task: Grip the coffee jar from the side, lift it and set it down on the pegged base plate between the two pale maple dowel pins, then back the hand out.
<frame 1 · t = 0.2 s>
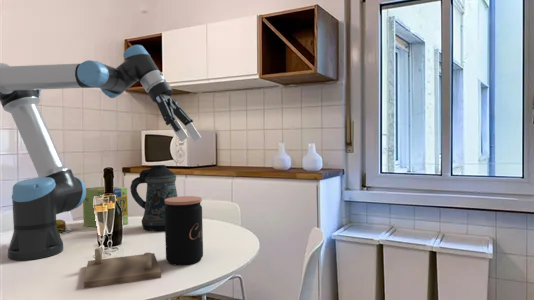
hand: (191, 139, 131), 35 cm above the table, tool tilted 35°, fingers open, 13 cm apart
protein box: (106, 225, 166), on the table
hamburger: (58, 234, 154), on the table
pegged base plate: (123, 271, 107), on the table
coffee jar: (184, 260, 116), on the table
beer stein: (159, 228, 159), on the table
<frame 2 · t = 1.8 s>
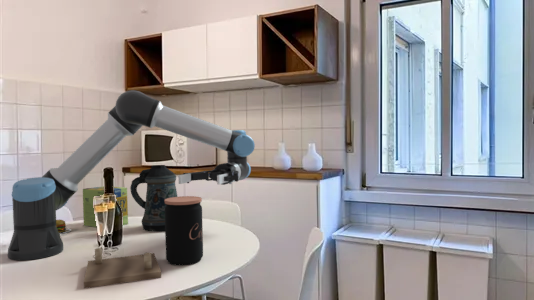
hand: (198, 179, 124), 22 cm above the table, tool horizontal, fingers open, 13 cm apart
nothing on the table moved.
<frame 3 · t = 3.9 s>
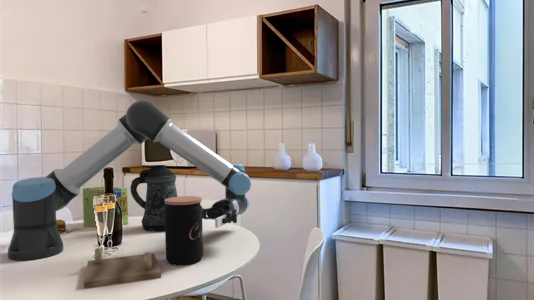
hand: (196, 222, 121), 10 cm above the table, tool horizontal, fingers open, 13 cm apart
nothing on the table moved.
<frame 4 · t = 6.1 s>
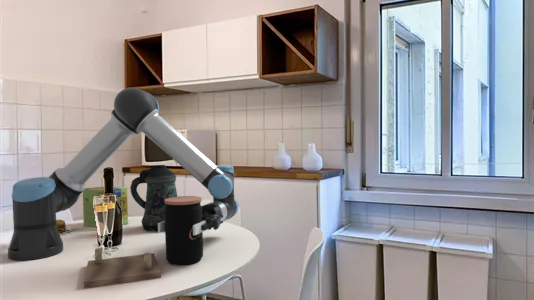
hand: (176, 229, 111), 10 cm above the table, tool horizontal, fingers closed on coffee jar, 11 cm apart
coffee jar: (184, 260, 116), on the table, touching gripper
everything else where it was.
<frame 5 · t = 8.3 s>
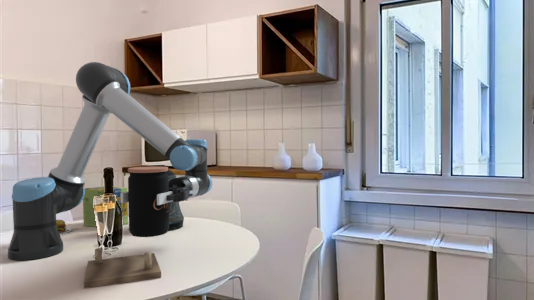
hand: (139, 199, 105), 20 cm above the table, tool horizontal, fingers closed on coffee jar, 11 cm apart
coffee jar: (149, 233, 109), point 9 cm above the table, touching gripper
everything else where it was.
when the fingers open (13 cm above the table, at t = 10.6 s): coffee jar drops 1 cm, resting on pegged base plate.
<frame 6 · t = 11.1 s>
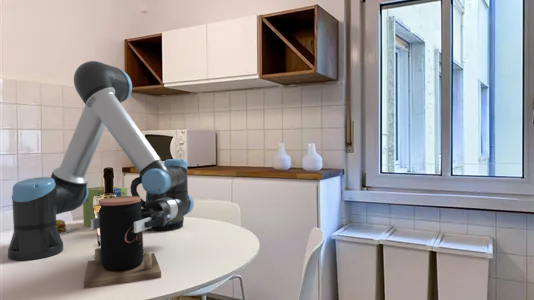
hand: (113, 226, 103), 13 cm above the table, tool horizontal, fingers open, 13 cm apart
coffee jar: (123, 266, 107), point 1 cm above the table, touching pegged base plate
everything else where it was.
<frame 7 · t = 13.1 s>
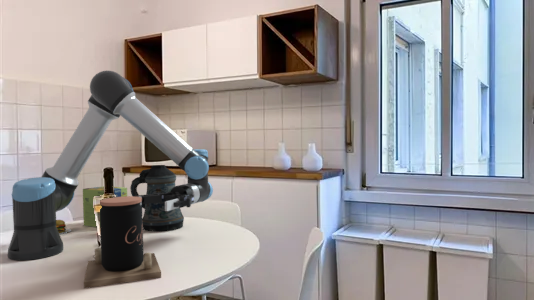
hand: (146, 205, 117), 16 cm above the table, tool horizontal, fingers open, 13 cm apart
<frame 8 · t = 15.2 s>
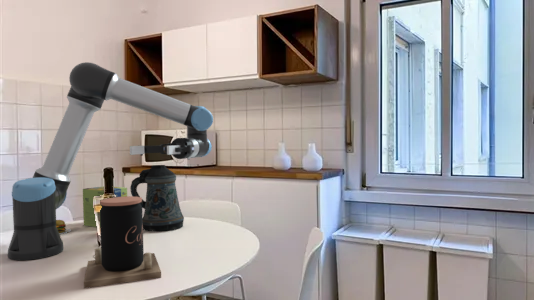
hand: (149, 150, 123), 32 cm above the table, tool horizontal, fingers open, 13 cm apart
at the end: coffee jar 0.1 cm from the pegged base plate (horizontally); coffee jar tilted 0°; the gripper is holding nothing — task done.
